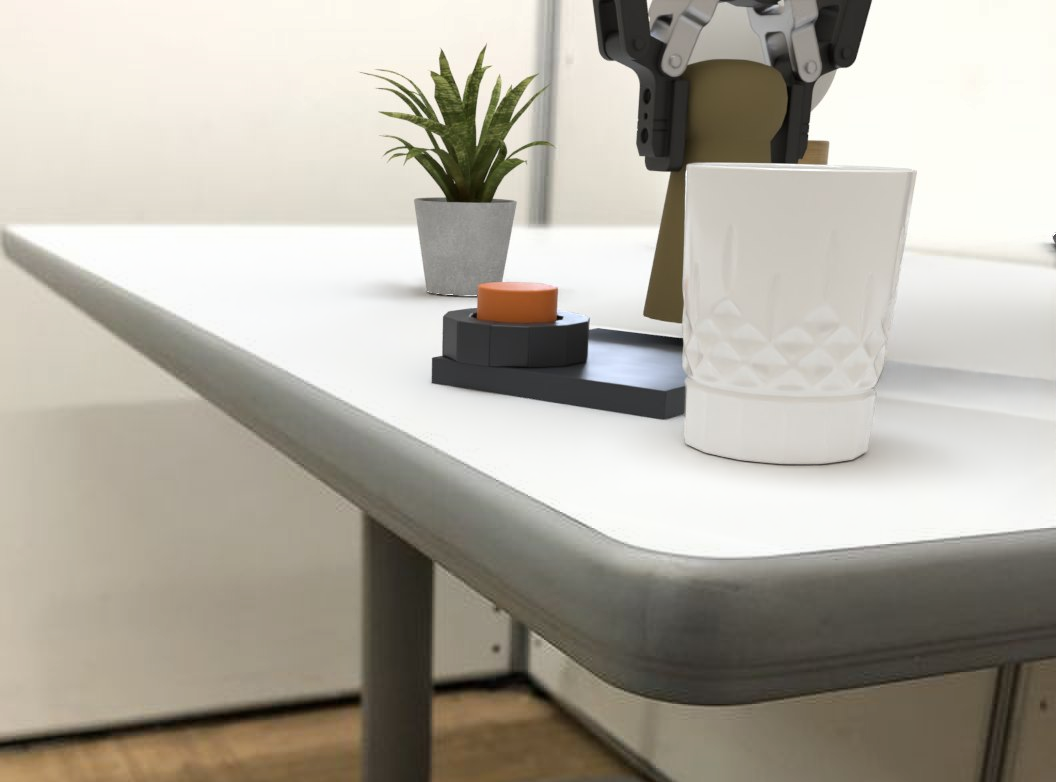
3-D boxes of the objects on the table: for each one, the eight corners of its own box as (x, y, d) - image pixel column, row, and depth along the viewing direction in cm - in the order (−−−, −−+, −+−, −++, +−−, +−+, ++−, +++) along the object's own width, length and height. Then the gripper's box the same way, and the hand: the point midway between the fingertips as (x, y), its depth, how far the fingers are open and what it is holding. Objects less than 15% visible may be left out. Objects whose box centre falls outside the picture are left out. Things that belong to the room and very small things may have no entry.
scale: (584, 349, 75) (587, 291, 74) (809, 378, 67) (816, 314, 66) (414, 382, 64) (415, 315, 63) (660, 421, 57) (666, 346, 56)
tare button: (507, 318, 66) (508, 280, 65) (571, 325, 64) (573, 286, 63) (460, 325, 63) (461, 285, 63) (526, 333, 61) (528, 292, 61)
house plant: (359, 277, 106) (359, 45, 101) (541, 280, 107) (551, 50, 102) (353, 300, 93) (353, 33, 88) (562, 303, 93) (574, 39, 88)
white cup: (624, 442, 53) (640, 162, 49) (745, 417, 58) (767, 162, 55) (807, 481, 47) (839, 170, 44) (922, 449, 53) (958, 169, 49)
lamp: (760, 262, 127) (787, -42, 119) (640, 249, 137) (658, -32, 129) (854, 254, 137) (885, -27, 129) (736, 243, 147) (757, -18, 138)
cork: (634, 321, 62) (652, 55, 59) (650, 306, 68) (666, 62, 64) (774, 329, 61) (800, 57, 57) (778, 312, 67) (802, 64, 63)
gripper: (844, -227, 63) (805, 170, 68) (554, -267, 58) (537, 167, 63) (960, -266, 56) (906, 177, 62) (645, -315, 51) (617, 173, 56)
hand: (720, 169), depth 62 cm, fingers closed on cork, 5 cm apart
